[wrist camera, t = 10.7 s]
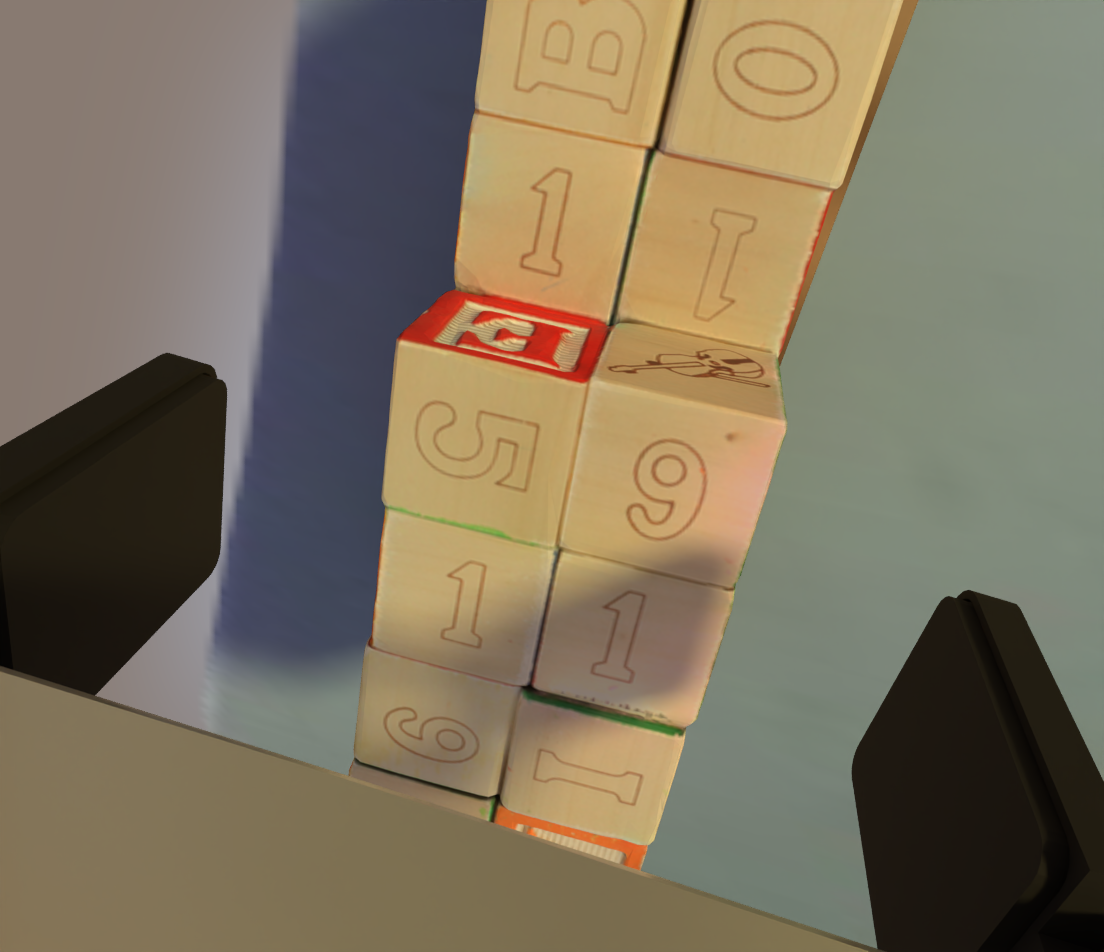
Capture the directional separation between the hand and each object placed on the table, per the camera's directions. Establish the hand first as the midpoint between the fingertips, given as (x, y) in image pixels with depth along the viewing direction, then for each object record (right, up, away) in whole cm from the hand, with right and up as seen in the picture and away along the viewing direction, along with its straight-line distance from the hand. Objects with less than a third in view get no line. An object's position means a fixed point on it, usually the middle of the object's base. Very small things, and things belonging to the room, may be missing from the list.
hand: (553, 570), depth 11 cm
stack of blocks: (+2, +7, +14) cm, 15 cm away
